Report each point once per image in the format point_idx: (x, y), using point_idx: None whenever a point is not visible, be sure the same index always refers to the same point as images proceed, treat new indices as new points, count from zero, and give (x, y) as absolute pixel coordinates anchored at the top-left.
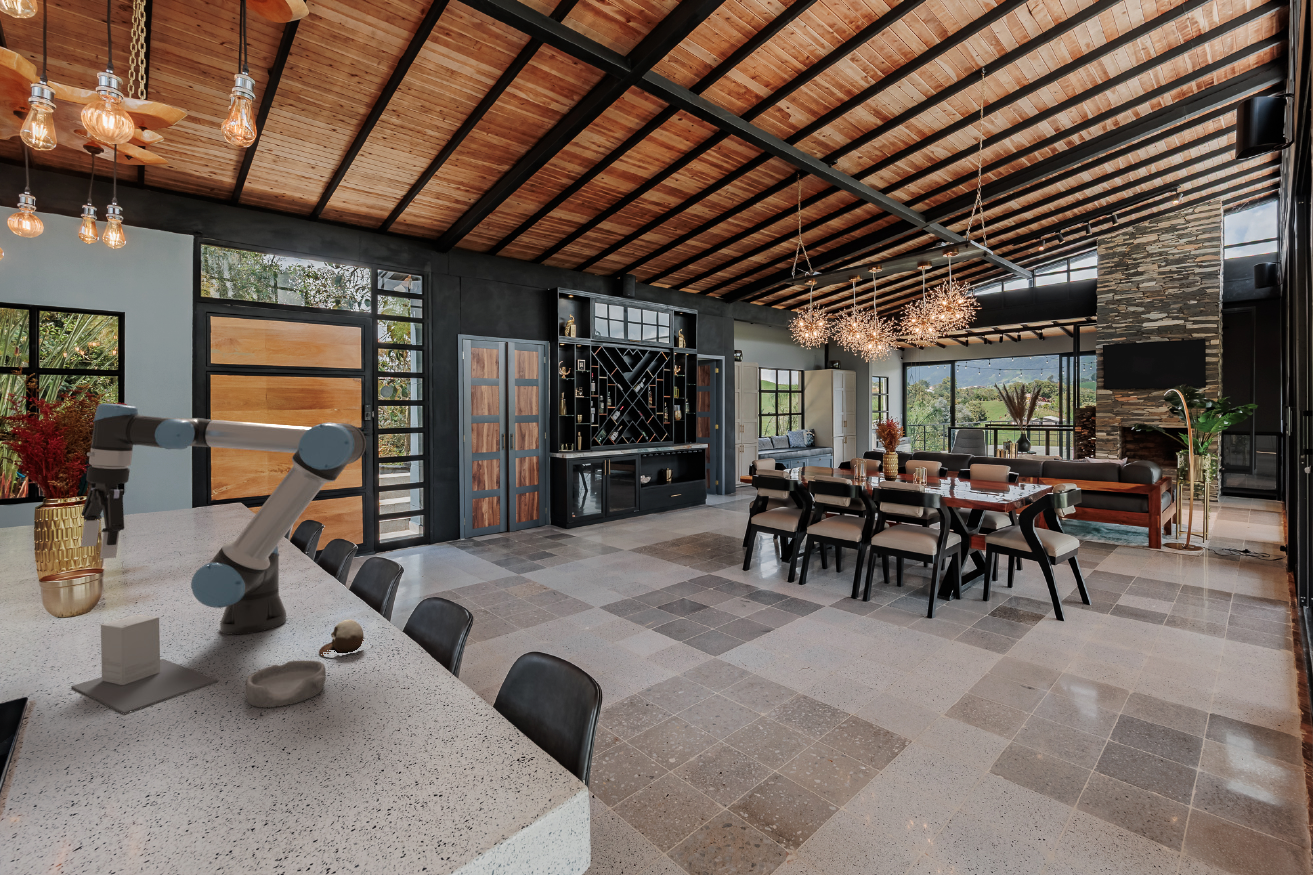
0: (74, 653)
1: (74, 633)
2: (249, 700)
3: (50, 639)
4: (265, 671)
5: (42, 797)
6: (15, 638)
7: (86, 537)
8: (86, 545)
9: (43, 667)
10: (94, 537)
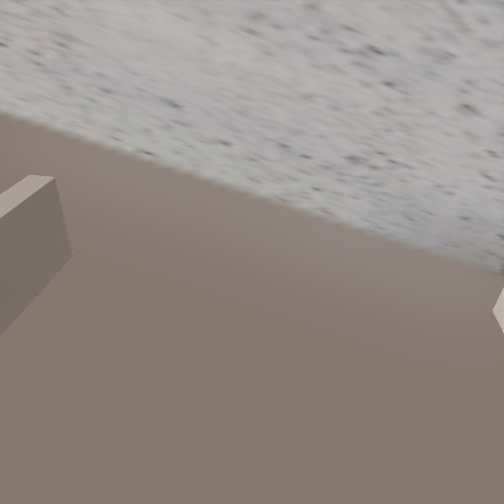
0: (288, 91)
1: (73, 11)
2: None
3: (91, 72)
4: None
5: None
6: (22, 111)
7: (26, 285)
8: (63, 238)
9: (338, 171)
10: (14, 234)
